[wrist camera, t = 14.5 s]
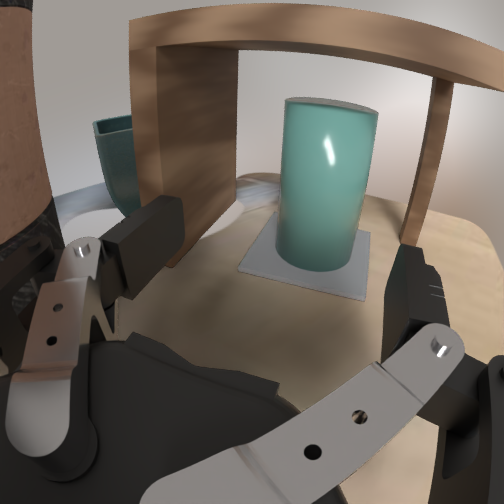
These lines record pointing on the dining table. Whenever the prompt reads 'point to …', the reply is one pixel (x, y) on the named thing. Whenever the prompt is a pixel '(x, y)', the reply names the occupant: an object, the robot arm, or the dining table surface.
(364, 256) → the mat
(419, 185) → the brown wooden shelf stand
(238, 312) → the dining table surface
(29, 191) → the travel mug
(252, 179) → the dining table surface
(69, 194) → the dining table surface
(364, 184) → the teal glossy cylinder
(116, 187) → the flower pot
